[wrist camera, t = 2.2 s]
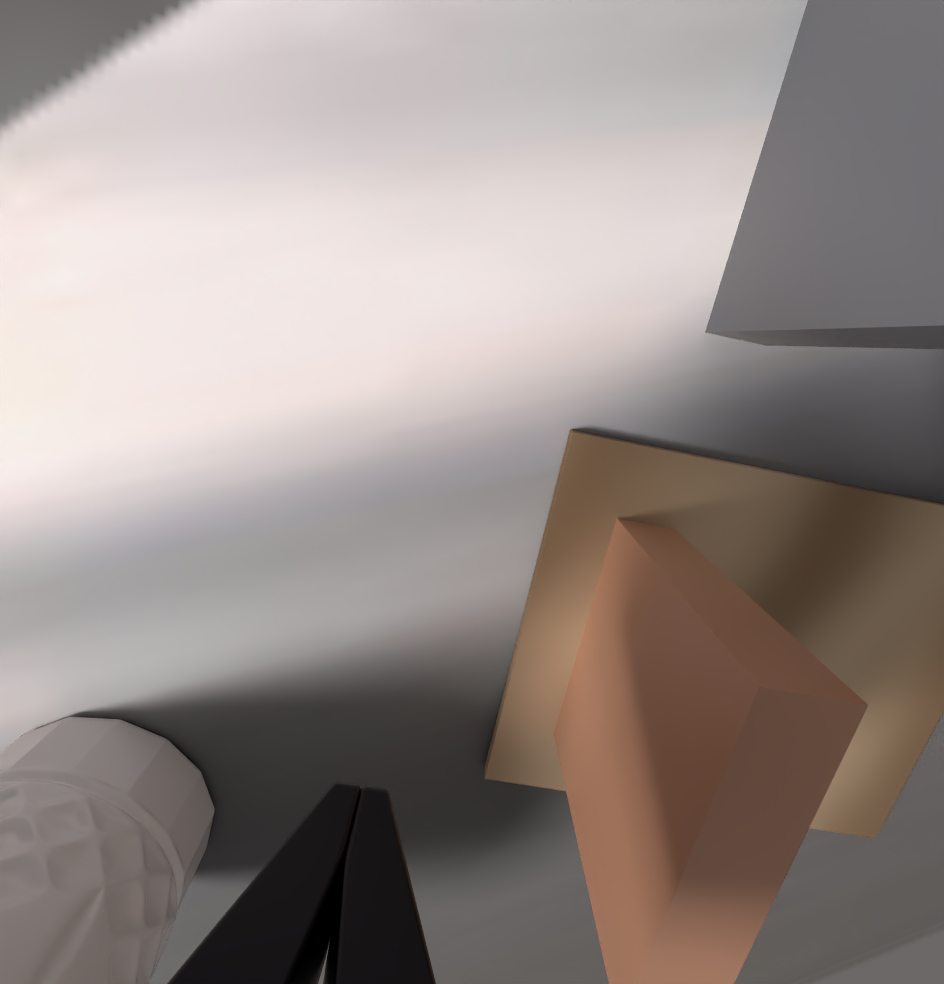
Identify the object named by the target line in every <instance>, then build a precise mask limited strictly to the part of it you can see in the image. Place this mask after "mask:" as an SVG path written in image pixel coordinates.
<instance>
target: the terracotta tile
mask: <svg viewBox="0 0 944 984" xmlns="http://www.w3.org/2000/svg"><path fill="white" fill-rule="evenodd" d="M867 707H868V704H867V703H866V702H865V701H863V700H862V699H861V698H860V697H859V696H858V695H857V694H856V693H855V692H854V691H852V690H851V689H850V688H849V687H848V686H847V685H846V684H845V683H844V682H843V681H841V680H840V679H839V678H838V677H837V676H836V675H835V674H834V673H833V672H831V671H830V670H829V669H828V668H827V667H826V666H825V665H824V664H823V663H822V662H820V661H819V660H818V659H817V658H816V657H815V656H814V655H813V654H812V653H811V652H809V651H808V650H807V649H806V648H805V647H804V646H803V645H802V644H801V643H800V642H798V641H797V640H796V639H795V638H794V637H793V636H792V635H791V634H790V633H788V632H787V631H786V630H785V629H784V628H783V627H782V626H781V625H780V624H779V623H777V622H776V621H775V620H774V619H773V618H772V617H771V616H770V615H769V614H768V613H766V612H765V611H764V610H763V609H762V608H761V607H760V606H759V605H758V604H757V603H755V602H754V601H753V600H752V599H751V598H750V597H749V596H748V595H747V594H746V593H744V592H743V591H742V590H741V589H740V588H739V587H738V586H737V585H736V584H734V583H733V582H732V581H731V580H730V579H729V578H728V577H727V576H726V575H725V574H723V573H722V572H721V571H720V570H719V569H718V568H717V567H716V566H715V565H714V564H712V563H711V562H710V561H709V560H708V559H707V558H706V557H705V556H704V555H703V554H701V553H700V552H699V551H698V550H697V549H696V548H695V547H694V546H693V545H691V544H690V543H689V542H688V541H687V540H686V539H685V538H684V537H683V536H682V535H680V534H679V533H678V532H677V531H676V530H675V529H671V528H666V527H661V526H655V525H650V524H645V523H640V522H634V521H629V520H624V519H618V518H617V519H616V522H615V526H614V529H613V533H612V536H611V540H610V543H609V546H608V550H607V553H606V557H605V560H604V563H603V567H602V570H601V574H600V577H599V581H598V584H597V587H596V591H595V594H594V598H593V601H592V605H591V608H590V611H589V615H588V618H587V622H586V625H585V628H584V632H583V635H582V639H581V642H580V646H579V649H578V652H577V656H576V659H575V663H574V666H573V669H572V673H571V676H570V680H569V683H568V687H567V690H566V693H565V697H564V700H563V704H562V707H561V710H560V714H559V717H558V721H557V724H556V728H555V731H554V739H555V743H556V748H557V752H558V757H559V761H560V766H561V770H562V775H563V779H564V784H565V788H566V793H567V797H568V802H569V806H570V811H571V815H572V820H573V824H574V829H575V833H576V837H577V842H578V846H579V851H580V855H581V860H582V864H583V869H584V873H585V878H586V882H587V887H588V891H589V896H590V900H591V905H592V909H593V914H594V918H595V923H596V927H597V932H598V936H599V941H600V945H601V950H602V954H603V958H604V963H605V967H606V972H607V976H608V981H609V984H734V982H735V980H736V978H737V976H738V974H739V972H740V970H741V968H742V966H743V964H744V962H745V960H746V958H747V956H748V953H749V951H750V949H751V947H752V945H753V943H754V941H755V939H756V937H757V935H758V933H759V931H760V929H761V927H762V924H763V922H764V920H765V918H766V916H767V914H768V912H769V910H770V908H771V906H772V904H773V902H774V900H775V898H776V896H777V893H778V891H779V889H780V887H781V885H782V883H783V881H784V879H785V877H786V875H787V873H788V871H789V869H790V867H791V864H792V862H793V860H794V858H795V856H796V854H797V852H798V850H799V848H800V846H801V844H802V842H803V840H804V838H805V836H806V833H807V831H808V829H809V827H810V825H811V823H812V821H813V819H814V817H815V815H816V813H817V811H818V809H819V807H820V804H821V802H822V800H823V798H824V796H825V794H826V792H827V790H828V788H829V786H830V784H831V782H832V780H833V778H834V776H835V773H836V771H837V769H838V767H839V765H840V763H841V761H842V759H843V757H844V755H845V753H846V751H847V749H848V747H849V745H850V742H851V740H852V738H853V736H854V734H855V732H856V730H857V728H858V726H859V724H860V722H861V720H862V718H863V716H864V713H865V711H866V709H867Z"/></svg>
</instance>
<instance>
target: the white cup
mask: <svg viewBox="0 0 944 984" xmlns="http://www.w3.org/2000/svg"><path fill="white" fill-rule="evenodd" d="M214 812H215V808H214V805H213V803H212V800H211V797H210V795H209V792H208V789H207V786H206V784H205V781H204V778H203V776H202V773H201V771H200V770H199V769H198V768H197V767H196V766H195V765H194V764H193V763H192V762H191V761H190V760H189V759H188V758H187V757H186V756H185V755H183V754H182V753H181V752H180V751H179V750H178V749H177V748H176V747H175V746H174V745H173V744H172V743H171V742H170V741H169V740H168V739H166V738H164V737H161V736H159V735H156V734H154V733H152V732H149V731H147V730H145V729H142V728H140V727H138V726H135V725H133V724H130V723H128V722H126V721H123V720H120V719H106V718H86V717H67V718H64V719H61V720H59V721H56V722H53V723H51V724H48V725H45V726H42V727H40V728H37V729H34V730H32V731H29V732H26V733H24V734H23V735H21V736H20V737H19V738H18V739H16V740H15V741H14V742H13V743H12V744H10V745H9V746H8V747H7V748H6V749H4V750H3V751H2V752H1V753H0V984H149V981H150V979H151V977H152V975H153V973H154V971H155V969H156V967H157V964H158V962H159V960H160V957H161V955H162V953H163V950H164V948H165V946H166V943H167V941H168V938H169V936H170V933H171V931H172V928H173V925H174V922H175V919H176V914H177V911H178V908H179V906H180V904H181V902H182V900H183V898H184V896H185V893H186V891H187V889H188V887H189V885H190V883H191V881H192V878H193V876H194V874H195V872H196V870H197V868H198V866H199V863H200V861H201V859H202V857H203V855H204V853H205V850H206V848H207V845H208V840H209V835H210V831H211V826H212V821H213V817H214Z"/></svg>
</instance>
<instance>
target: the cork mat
mask: <svg viewBox="0 0 944 984" xmlns="http://www.w3.org/2000/svg"><path fill="white" fill-rule="evenodd" d="M617 518H618V519H624V520H629V521H634V522H640V523H645V524H650V525H655V526H661V527H666V528H671V529H675V530H676V531H677V532H678V533H679V534H680V535H682V536H683V537H684V538H685V539H686V540H687V541H688V542H689V543H690V544H691V545H693V546H694V547H695V548H696V549H697V550H698V551H699V552H700V553H701V554H703V555H704V556H705V557H706V558H707V559H708V560H709V561H710V562H711V563H712V564H714V565H715V566H716V567H717V568H718V569H719V570H720V571H721V572H722V573H723V574H725V575H726V576H727V577H728V578H729V579H730V580H731V581H732V582H733V583H734V584H736V585H737V586H738V587H739V588H740V589H741V590H742V591H743V592H744V593H746V594H747V595H748V596H749V597H750V598H751V599H752V600H753V601H754V602H755V603H757V604H758V605H759V606H760V607H761V608H762V609H763V610H764V611H765V612H766V613H768V614H769V615H770V616H771V617H772V618H773V619H774V620H775V621H776V622H777V623H779V624H780V625H781V626H782V627H783V628H784V629H785V630H786V631H787V632H788V633H790V634H791V635H792V636H793V637H794V638H795V639H796V640H797V641H798V642H800V643H801V644H802V645H803V646H804V647H805V648H806V649H807V650H808V651H809V652H811V653H812V654H813V655H814V656H815V657H816V658H817V659H818V660H819V661H820V662H822V663H823V664H824V665H825V666H826V667H827V668H828V669H829V670H830V671H831V672H833V673H834V674H835V675H836V676H837V677H838V678H839V679H840V680H841V681H843V682H844V683H845V684H846V685H847V686H848V687H849V688H850V689H851V690H852V691H854V692H855V693H856V694H857V695H858V696H859V697H860V698H861V699H862V700H863V701H865V702H866V703H867V704H868V707H867V709H866V711H865V713H864V716H863V718H862V720H861V722H860V724H859V726H858V728H857V730H856V732H855V734H854V736H853V738H852V740H851V742H850V745H849V747H848V749H847V751H846V753H845V755H844V757H843V759H842V761H841V763H840V765H839V767H838V769H837V771H836V773H835V776H834V778H833V780H832V782H831V784H830V786H829V788H828V790H827V792H826V794H825V796H824V798H823V800H822V802H821V804H820V807H819V809H818V811H817V813H816V815H815V817H814V819H813V821H812V823H811V825H810V827H809V828H811V829H818V830H824V831H831V832H837V833H844V834H850V835H857V836H863V837H870V838H876V837H877V835H878V833H879V832H880V830H881V828H882V826H883V824H884V822H885V820H886V818H887V817H888V815H889V813H890V811H891V809H892V807H893V805H894V803H895V801H896V800H897V798H898V796H899V794H900V792H901V790H902V788H903V786H904V785H905V783H906V781H907V779H908V777H909V775H910V773H911V771H912V770H913V768H914V766H915V764H916V762H917V760H918V758H919V756H920V754H921V753H922V751H923V749H924V747H925V745H926V743H927V741H928V739H929V738H930V736H931V734H932V732H933V730H934V728H935V726H936V724H937V723H938V721H939V719H940V717H941V715H942V713H943V711H944V504H941V503H936V502H931V501H926V500H921V499H916V498H911V497H906V496H901V495H896V494H891V493H886V492H881V491H876V490H871V489H866V488H861V487H856V486H851V485H846V484H841V483H836V482H831V481H826V480H821V479H816V478H811V477H806V476H801V475H796V474H791V473H786V472H781V471H776V470H771V469H766V468H761V467H756V466H751V465H746V464H740V463H735V462H730V461H725V460H720V459H715V458H710V457H705V456H700V455H695V454H690V453H685V452H680V451H675V450H670V449H665V448H660V447H655V446H650V445H645V444H640V443H635V442H630V441H625V440H620V439H615V438H610V437H605V436H600V435H595V434H590V433H585V432H580V431H575V430H570V433H569V437H568V441H567V444H566V448H565V452H564V456H563V460H562V464H561V468H560V472H559V476H558V480H557V484H556V488H555V492H554V496H553V500H552V504H551V507H550V511H549V515H548V519H547V523H546V527H545V531H544V535H543V539H542V543H541V547H540V551H539V555H538V559H537V563H536V567H535V570H534V574H533V578H532V582H531V586H530V590H529V594H528V598H527V602H526V606H525V610H524V614H523V618H522V622H521V626H520V630H519V633H518V637H517V641H516V645H515V649H514V653H513V657H512V661H511V665H510V669H509V673H508V677H507V681H506V685H505V689H504V693H503V696H502V700H501V704H500V708H499V712H498V716H497V720H496V724H495V728H494V732H493V736H492V740H491V744H490V748H489V752H488V756H487V759H486V763H485V767H484V776H485V779H489V780H496V781H502V782H509V783H515V784H522V785H529V786H535V787H542V788H548V789H555V790H561V791H566V788H565V784H564V779H563V775H562V770H561V766H560V761H559V757H558V752H557V748H556V743H555V739H554V731H555V728H556V724H557V721H558V717H559V714H560V710H561V707H562V704H563V700H564V697H565V693H566V690H567V687H568V683H569V680H570V676H571V673H572V669H573V666H574V663H575V659H576V656H577V652H578V649H579V646H580V642H581V639H582V635H583V632H584V628H585V625H586V622H587V618H588V615H589V611H590V608H591V605H592V601H593V598H594V594H595V591H596V587H597V584H598V581H599V577H600V574H601V570H602V567H603V563H604V560H605V557H606V553H607V550H608V546H609V543H610V540H611V536H612V533H613V529H614V526H615V522H616V519H617Z"/></svg>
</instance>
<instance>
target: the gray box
mask: <svg viewBox="0 0 944 984" xmlns="http://www.w3.org/2000/svg"><path fill="white" fill-rule="evenodd" d="M706 333H711V334H715V335H720V336H725V337H729V338H734V339H739V340H743V341H748V342H752V343H757V344H762V345H768V346H817V347H866V348H915V349H944V0H808V2H807V6H806V9H805V12H804V15H803V19H802V22H801V25H800V28H799V31H798V35H797V38H796V41H795V44H794V48H793V51H792V54H791V57H790V60H789V64H788V67H787V70H786V73H785V77H784V80H783V83H782V86H781V90H780V93H779V96H778V99H777V102H776V106H775V109H774V112H773V115H772V119H771V122H770V125H769V128H768V131H767V135H766V138H765V141H764V144H763V148H762V151H761V154H760V157H759V161H758V164H757V167H756V170H755V173H754V177H753V180H752V183H751V186H750V190H749V193H748V196H747V199H746V203H745V206H744V209H743V212H742V215H741V219H740V222H739V225H738V228H737V232H736V235H735V238H734V241H733V244H732V248H731V251H730V254H729V257H728V261H727V264H726V267H725V270H724V274H723V277H722V280H721V283H720V286H719V290H718V293H717V296H716V299H715V303H714V306H713V309H712V312H711V316H710V319H709V322H708V325H707V328H706Z"/></svg>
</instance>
